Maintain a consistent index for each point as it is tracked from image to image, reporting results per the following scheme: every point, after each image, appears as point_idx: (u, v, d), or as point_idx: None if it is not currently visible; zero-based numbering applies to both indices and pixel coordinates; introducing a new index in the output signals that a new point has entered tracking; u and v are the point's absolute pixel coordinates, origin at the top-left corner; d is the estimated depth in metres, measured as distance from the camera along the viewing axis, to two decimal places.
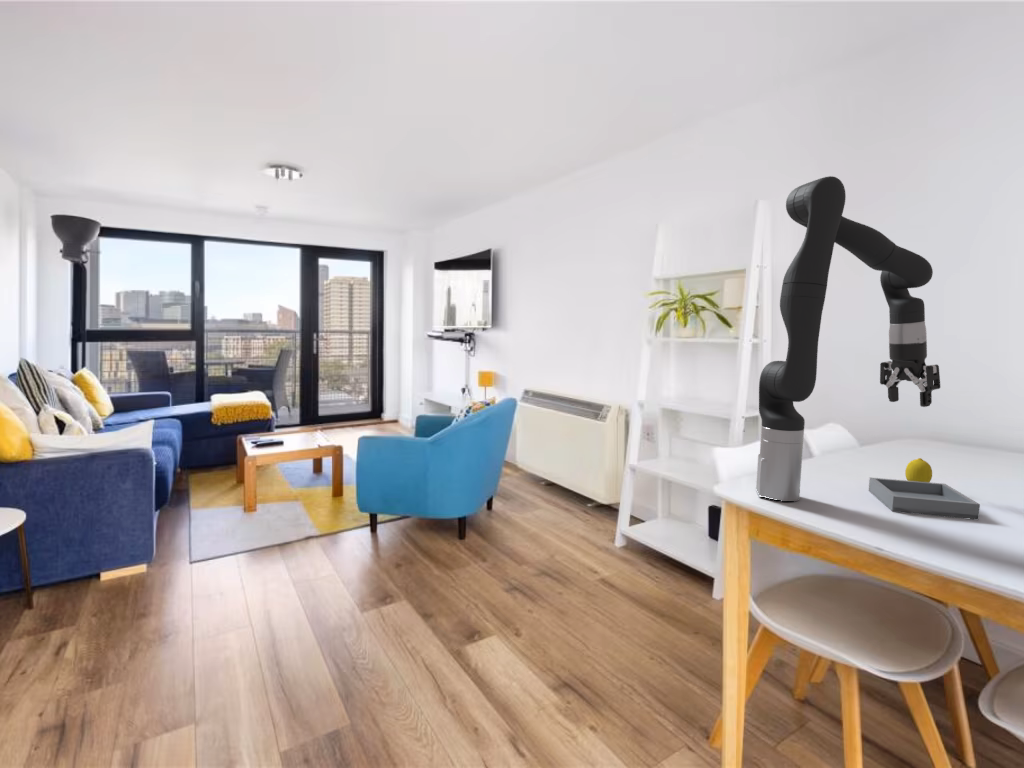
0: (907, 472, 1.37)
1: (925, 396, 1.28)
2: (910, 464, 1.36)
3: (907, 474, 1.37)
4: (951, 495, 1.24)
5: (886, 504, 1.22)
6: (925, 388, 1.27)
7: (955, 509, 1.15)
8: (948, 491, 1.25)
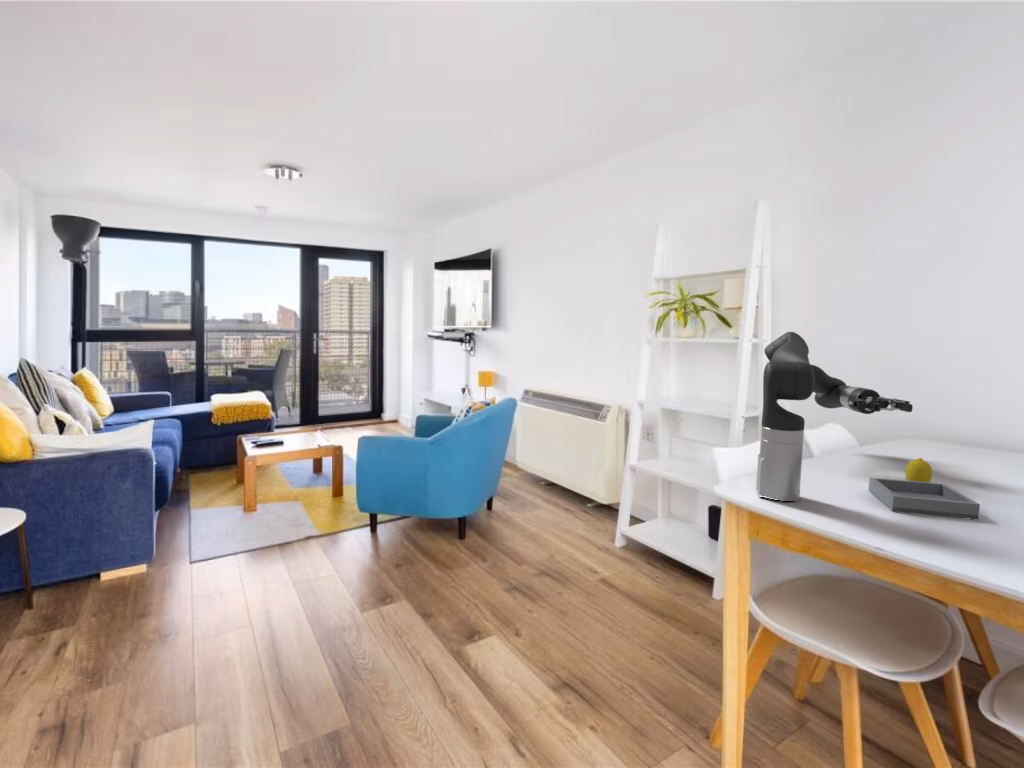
0: (907, 472, 1.37)
1: None
2: (910, 464, 1.36)
3: (907, 474, 1.37)
4: (951, 495, 1.24)
5: (886, 504, 1.22)
6: None
7: (955, 509, 1.15)
8: (948, 491, 1.25)
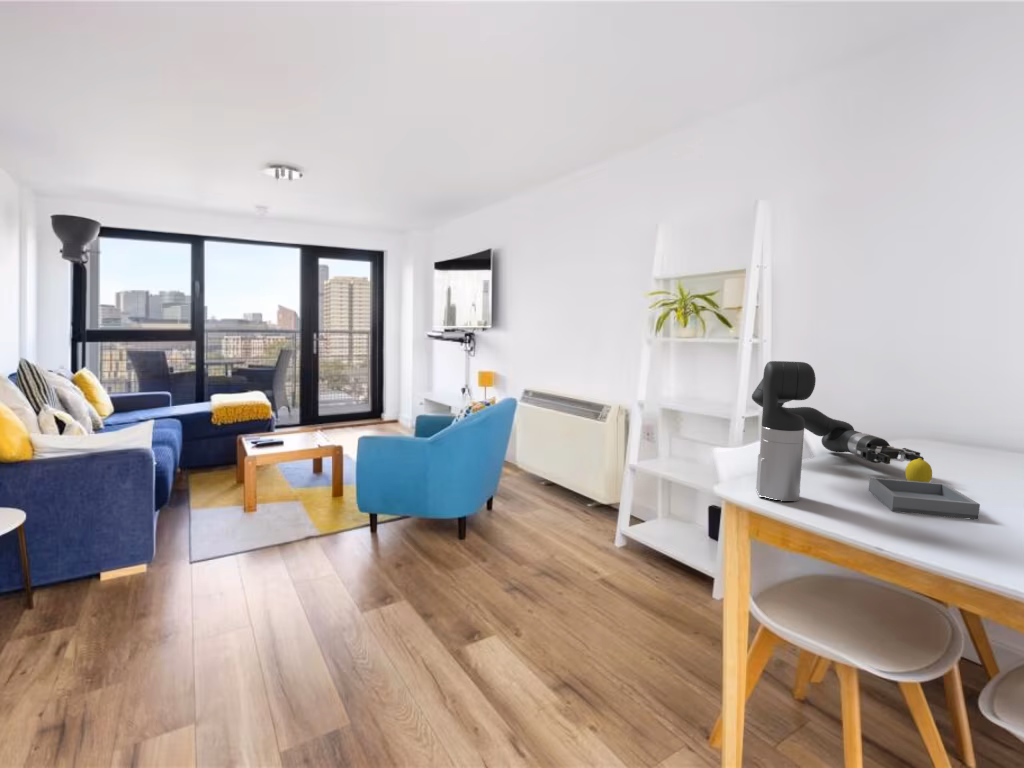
0: (907, 472, 1.37)
1: None
2: (910, 464, 1.36)
3: (907, 474, 1.37)
4: (951, 495, 1.24)
5: (886, 504, 1.22)
6: None
7: (955, 509, 1.15)
8: (948, 491, 1.25)
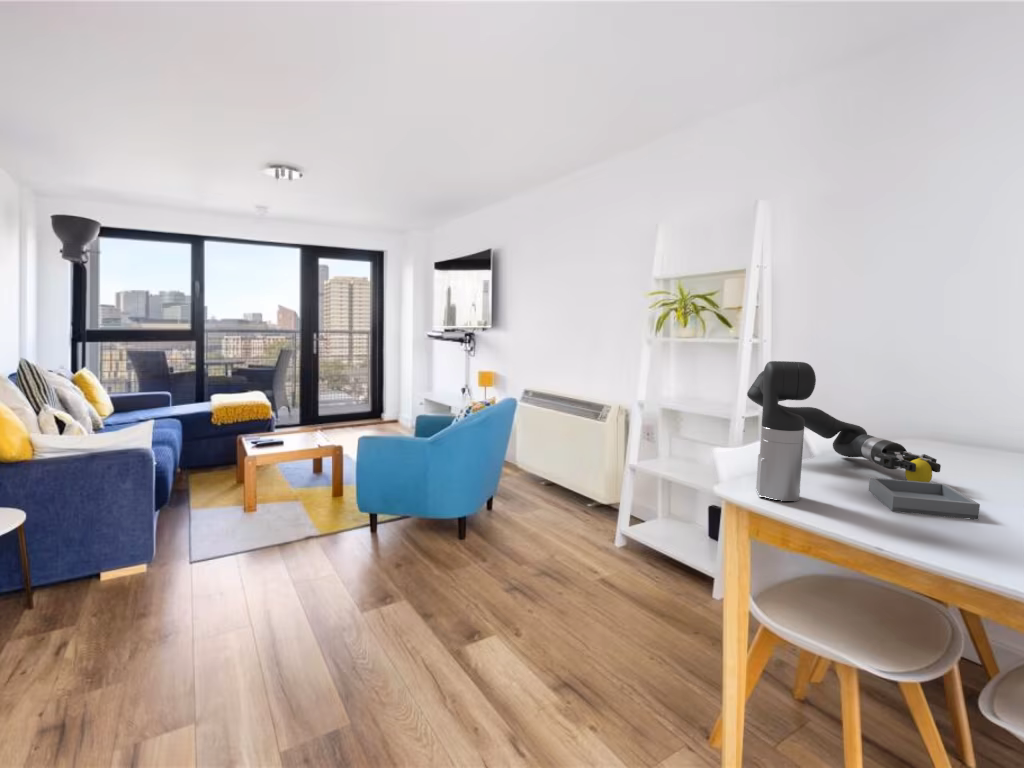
0: (907, 472, 1.37)
1: None
2: None
3: (907, 474, 1.37)
4: (951, 495, 1.24)
5: (886, 504, 1.22)
6: None
7: (955, 509, 1.15)
8: (948, 491, 1.25)
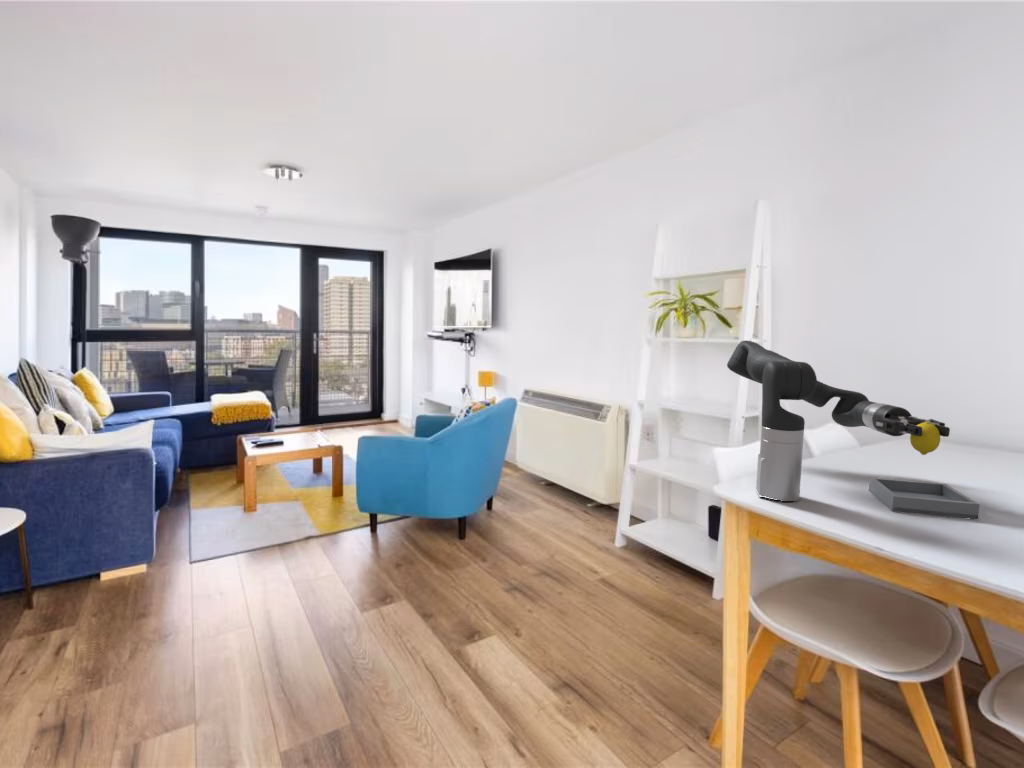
0: (912, 437, 1.23)
1: None
2: None
3: (912, 439, 1.24)
4: (951, 495, 1.24)
5: (886, 504, 1.22)
6: None
7: (955, 509, 1.15)
8: (948, 491, 1.25)
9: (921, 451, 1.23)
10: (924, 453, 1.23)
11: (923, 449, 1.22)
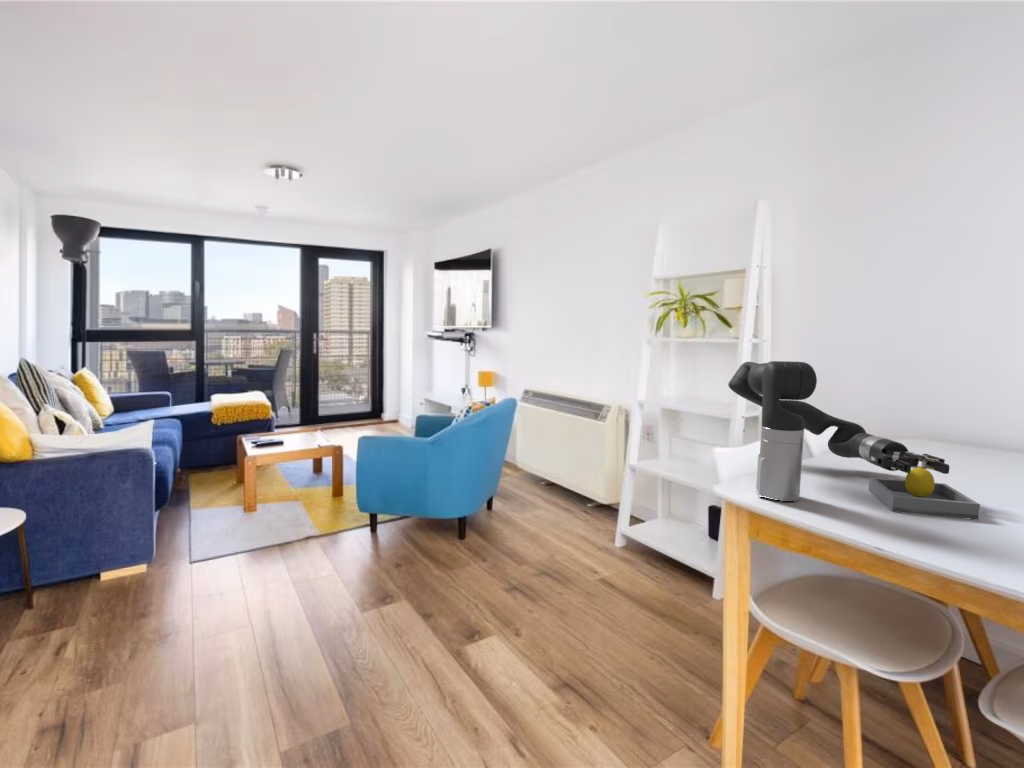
0: (907, 482, 1.24)
1: None
2: (910, 473, 1.24)
3: (907, 484, 1.24)
4: (951, 495, 1.24)
5: (886, 504, 1.22)
6: None
7: (955, 509, 1.15)
8: (948, 491, 1.25)
9: (916, 496, 1.23)
10: None
11: (918, 495, 1.22)
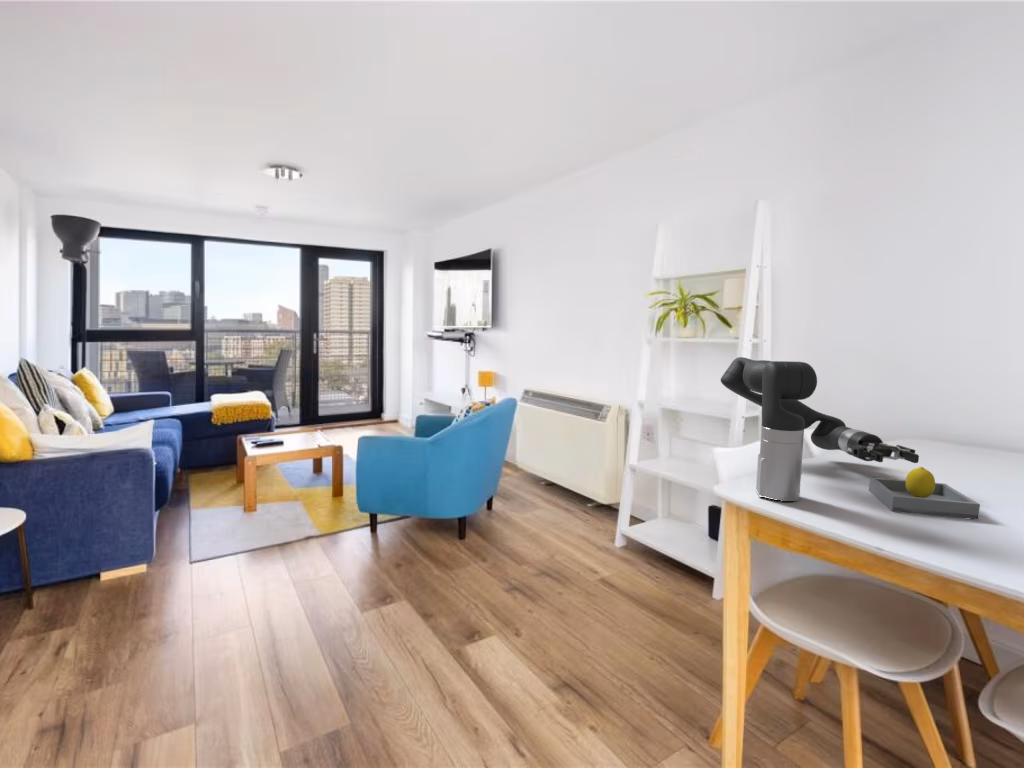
0: (907, 482, 1.24)
1: None
2: (911, 473, 1.24)
3: (907, 484, 1.24)
4: (951, 495, 1.24)
5: (886, 504, 1.22)
6: None
7: (955, 509, 1.15)
8: (948, 491, 1.25)
9: (916, 496, 1.23)
10: None
11: (918, 495, 1.22)
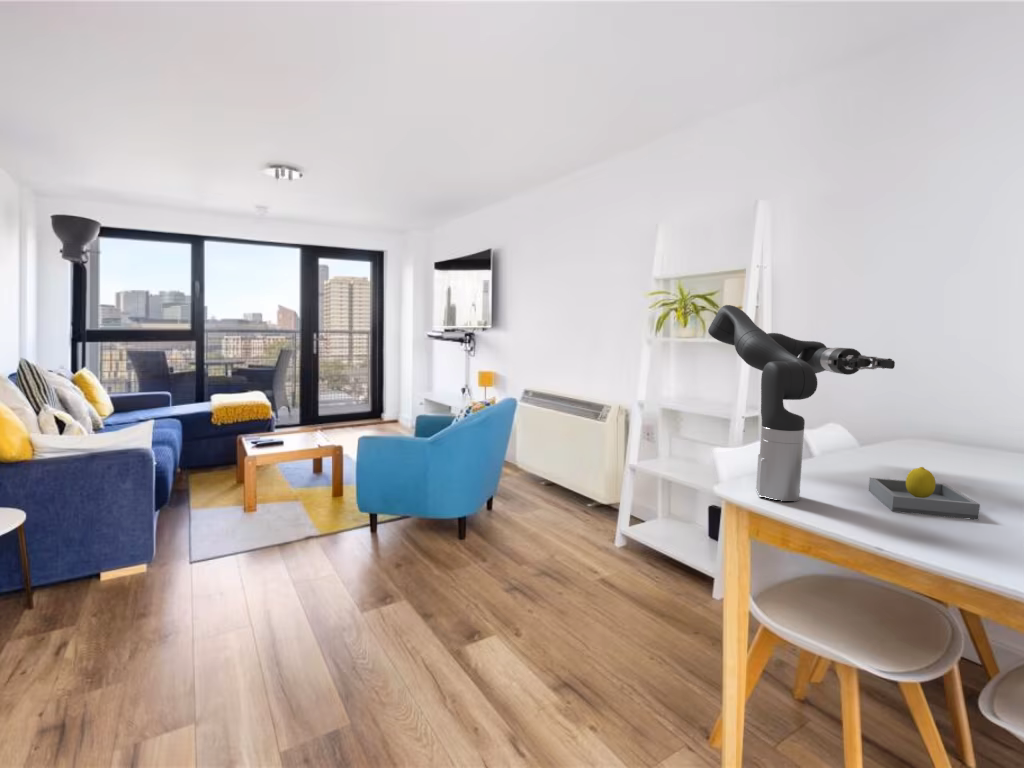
0: (908, 482, 1.24)
1: None
2: (911, 473, 1.24)
3: (908, 484, 1.24)
4: (951, 495, 1.24)
5: (886, 504, 1.22)
6: None
7: (955, 509, 1.15)
8: (948, 491, 1.25)
9: (916, 496, 1.23)
10: None
11: (918, 495, 1.22)
